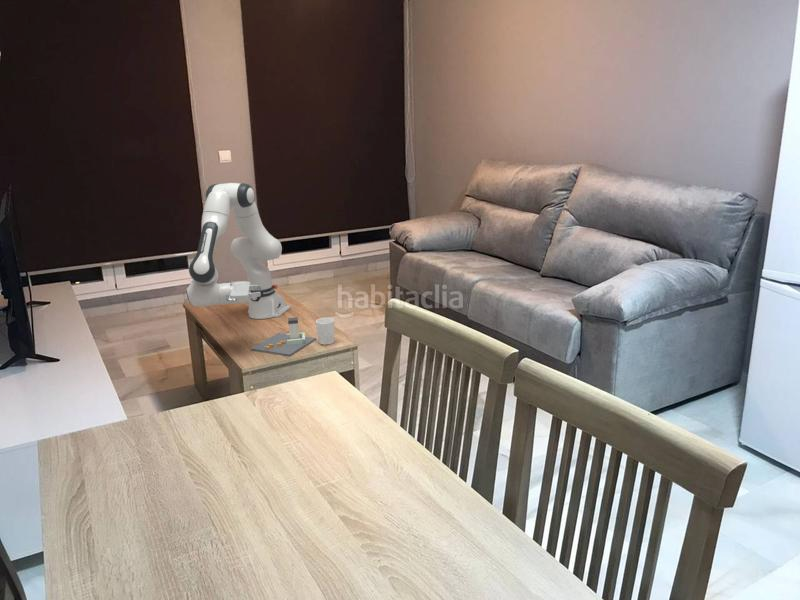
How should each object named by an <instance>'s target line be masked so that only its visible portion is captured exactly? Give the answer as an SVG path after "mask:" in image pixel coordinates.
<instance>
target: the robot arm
mask: <svg viewBox="0 0 800 600" xmlns="http://www.w3.org/2000/svg"><path fill="white" fill-rule="evenodd" d="M205 199H206V200H205V203H204V206H203V209H202V215H201V231H200V232H201V233H200V237H199V242H198V246H197V252H196V255H195V256H194V258H193V260H192V261H191V262H190V265H189V266H188V273H189V276H190V278H192V280H191V282H190V284H189V285H188V287H187V288H186V291H185V292H186V297H187V299H188V302H189V303H190V305H192V306H194V307H210V306H213V305H220V306H221V305H231V304H232V305H233V304H248V310H247V314H248V317H249V318H251V319H255V320H261V319H262V320H264V319H265V320H266V319H272V318H278V317H280V316H282V315H283V314H284V313H286V312H287V311H288V310H290V309H291V305H290V304H286V301H285V300H286V299H285V298H284V296H283V295H281V294H279V293H277V292H276V291H275V290H277V289H278V288H279V287H278V285H279V284H273V282H272V274H271V271H270V269H269V268H268V267H267V266H265V265H264V264H263V263H262V262H261V261H271V260H276V259H279V258H280V256H281V255H282V251H283V247H282V243H281V242H280V240H279V239H277V238H276V237H274V236H273V235H272V234H271V233H269V231H268V230H267V229H266V227H265V226H264V225H263V222H262V219H261V217H260V216H261V215H260V213H259V209H258V206H257V203H256V201H255V199H256V193H255V189H254V188H253V187H252V186H251V185H250V184H249V183H245V182H242V183H239V182H227V183H215V184H211V185H209V186H208V188H207V189H206V192H205ZM231 209H232V213H233V216H234V219H235V220H234V221H235V223H236V226H237V229H238V231H239V232H241V234H243V235H244V236H240V237H235V238H234V239H233V240H232V242H231V244H230V251H231V255H233V257H234V258H235V259H237V260H238V261H239V262H240V263H241V265H242V266H243V268H244V270H245V273H246V277H247V280H246V281H245V280H243V281H232V280H227V281H226V282H223V283H219V272H218V271H219V270H217V268H216V267H215V263H214V260H213V259H214V258H213V257H214V252H215V247H216V243H217V239H218V238H219V237H221V236H223V235H225V233H226V231H227V228H228V226H229V221H230V215H231Z"/></svg>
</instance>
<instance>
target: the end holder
mask: <svg viewBox="0 0 800 600" xmlns="http://www.w3.org/2000/svg"><path fill="white" fill-rule="evenodd" d="M286 334H287V339H290V333H286ZM305 337H306V332H305V331H303V332H300V331H299V338H301V339H291V340H287V345H295V344H305V343H306V342H305Z"/></svg>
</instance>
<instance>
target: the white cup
mask: <svg viewBox="0 0 800 600" xmlns="http://www.w3.org/2000/svg"><path fill="white" fill-rule="evenodd" d="M315 325H316V335H317V338H318V344H319V343H320V345H321V344H329V345H332V344H333V343H335V318H332V317H321V318H317V319H316V320H315ZM331 343H332V344H331Z"/></svg>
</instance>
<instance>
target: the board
mask: <svg viewBox="0 0 800 600" xmlns="http://www.w3.org/2000/svg"><path fill="white" fill-rule="evenodd" d="M287 334H288V333H282V332H277V333H276V334H273V335H272V336H270V337H269V338H267V339H265V340H263V341H261V342H260V343H258V344H256V345H254V346H253V347H251V348H250V351H253V352H260V353H268V354H272V355H278V354H279V355H280V356H285V357H291V356H293V355H295V354H297V352H299V351H301V350H302V349H304V348H305V346H306V345H307V346H309V345H310V344H312V343H314V342H315V341H316V340H317V338H316V337H312V336H305V342H306V343H305V344H295V345H287V340H290V339H287ZM300 339H301V338H300ZM314 340H315V341H314ZM311 342H312V343H311ZM308 344H309V345H308ZM307 346H306V347H307ZM303 347H304V348H303ZM300 349H301V350H300Z"/></svg>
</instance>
